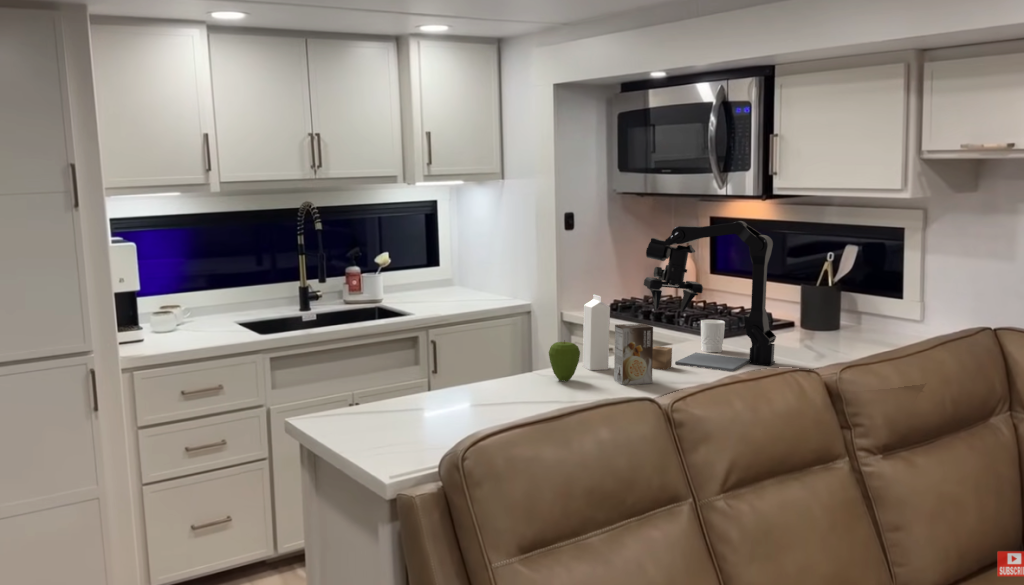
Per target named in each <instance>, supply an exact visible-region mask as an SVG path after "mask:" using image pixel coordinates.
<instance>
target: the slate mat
mask: <svg viewBox="0 0 1024 585" xmlns="http://www.w3.org/2000/svg"><path fill="white" fill-rule="evenodd" d="M749 362H750V360H749V358H746V357H745V358H744V357H736V356H728V355H720V354H714V353H713V354H711V353H702V352H694V353H691V354H690V355H687V356H684V357H683V358H680V359H678V360H676V361H675V365H677V364H678V365H679V366H685V365H690V366H689V367H693V366H697V367H696V368H701V367H705V368H704V369H709V368H712V369H711V370H717V369H719V371H725V370H727V372H734V371H736V370H738V369H740V368H741V367H743V366H745V365H747V364H748V363H749ZM749 364H750V363H749ZM720 369H721V370H720Z"/></svg>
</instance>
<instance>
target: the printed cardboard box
mask: <svg viewBox="0 0 1024 585" xmlns="http://www.w3.org/2000/svg"><path fill="white" fill-rule="evenodd" d="M653 339H654V326H652V325H649V324H646V323H626V324H622V323H621V324H615V325H614V363H613V364H614V367H613V369H614V371H613V372H614V373H613V381H614V382H616V383H618V384H620V385H622V386H629V385H645V384H646V385H647V384H653V368H652V361H653V360H652V359H653V347H654V340H653Z"/></svg>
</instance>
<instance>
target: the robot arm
mask: <svg viewBox="0 0 1024 585" xmlns="http://www.w3.org/2000/svg"><path fill="white" fill-rule="evenodd" d="M728 235H737V237H739V239H741V241H742V242H743V243H744V244H746V245H747V246H748V250H749V257H750V260H751V263H752V274H751V275H752V278H751V279H752V280H751V281H752V282H751V304H750V311H749V313H748V314H745V315H743V316H744V317H743V320H744V325H743V326H744V327H743V330H745V334H746V336H747V337H748V338H749V339H750V342H751V346H750V348H749V358H748V359H749V360H750V362H749V364H751V365H759V366H768V367H769V366H772V365H774V364H776V361H775V345H776V344H775V341H776V338H777V336H776V334H775V333H774V332H773V331H772V330H771V329H770V325H769V317H768V314H767V310H766V300H767V277H768V276H767V275H768V264H769V261H770V258H771V255H772V250H773V247H774V246H773V245H774V242H773V239H772V238H771V237H770V236H768V235H765V234H762V233H761V232H759V231H757V230H756V229H754V228H753V227H751V226H750V225H748V224H747V223H746V221H742V220H738V221H735V222H728V223H721V224H714V225H713V224H712V225H706V226H699V225H698V226H697V225H678V226H676V227H674V228H673V229H672V231H671V233H670V235H669V237H667V238H666V239H665V240H663V239H659V238H656V237H651V239H650V241H649V243H648V245H647V247H646V249H645V250H646V251H645V256H646V258H647V259H651V260H656V261H660V262H665V261H667V260H668V263H667V264H666V265H665V269H662V267H661V266H655V267H654V270H653V277H650V276H647V277H646V278H645V279H644V281H643V286H644V287H646V288H647V289H648V290H650V292H651V294H652V298H653V300H652V301H653V305H654V310H655V311H658V309H659V306H660V301H661V298H662V293H663V292H662V291H663V290H661V289H662V288H671V289H679V290H681V289H683V290H682V293H683V296H682V301H681V304H680V305H681V306H680V312H681V313H683V312H685V310H686V308H687V307H688V305H690V303H691V301H693V299H694V298H695V297H696V296H699V294H702V293H703V290H704V287H703V285H702V284H701V283H700V282H697V281H693V280H686V281H684V280H685V274H686V273H688V269H687V263H688V262H687V261H688V257H689V256H688V255H689V254H694V253H695V252H696V250H695V249H694V248H693V245H692V244H688V243H692V242H694V241H697V240H698V241H699V240H701V239H704V238H705V239H707V238H711V237H712V238H713V237H720V236H728ZM682 244H683V245H682ZM684 244H688V245H687V246H686V245H684ZM674 245H675V246H674ZM676 245H677V246H676Z"/></svg>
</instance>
